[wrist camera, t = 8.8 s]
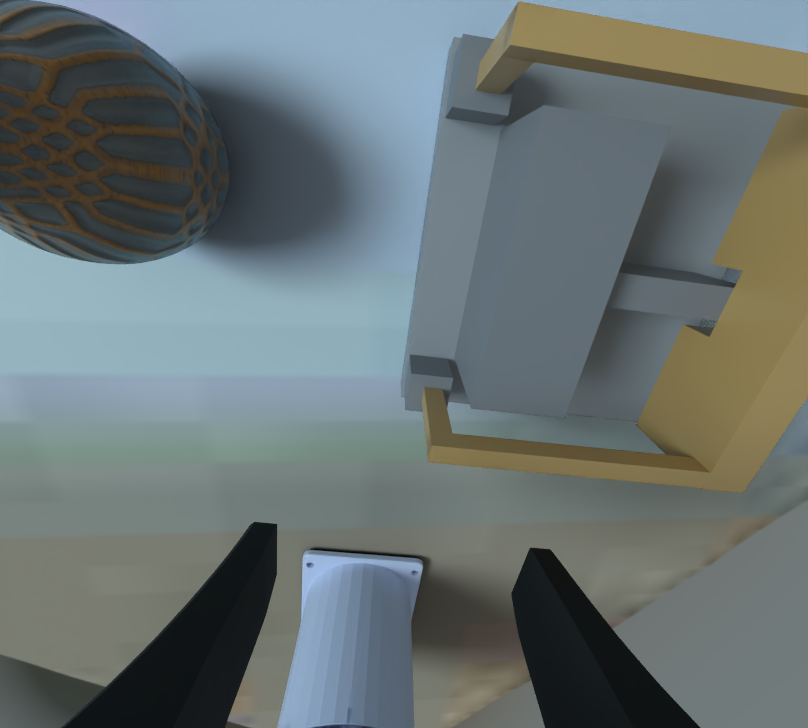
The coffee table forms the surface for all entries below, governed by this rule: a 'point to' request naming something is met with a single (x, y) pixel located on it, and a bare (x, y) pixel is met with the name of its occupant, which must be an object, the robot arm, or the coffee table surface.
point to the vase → (101, 141)
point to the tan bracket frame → (740, 249)
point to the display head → (572, 235)
